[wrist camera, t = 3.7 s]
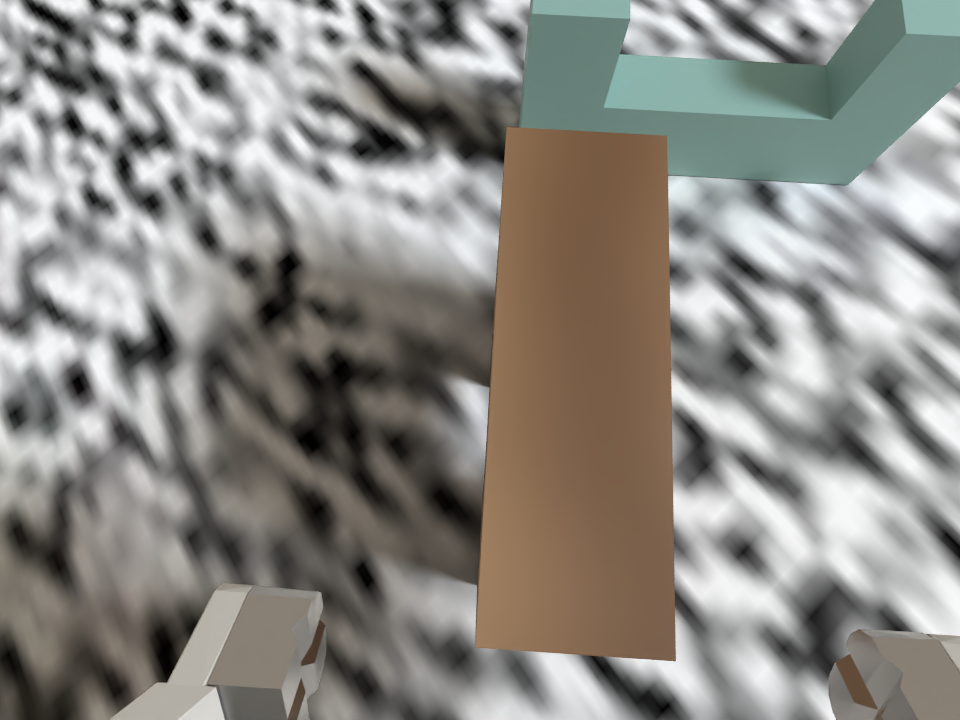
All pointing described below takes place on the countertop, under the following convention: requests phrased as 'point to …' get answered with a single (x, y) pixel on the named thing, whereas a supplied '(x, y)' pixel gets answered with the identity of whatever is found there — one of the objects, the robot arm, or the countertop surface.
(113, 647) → the countertop surface
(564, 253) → the brown arch block
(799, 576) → the countertop surface
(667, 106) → the teal bracket
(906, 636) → the robot arm
